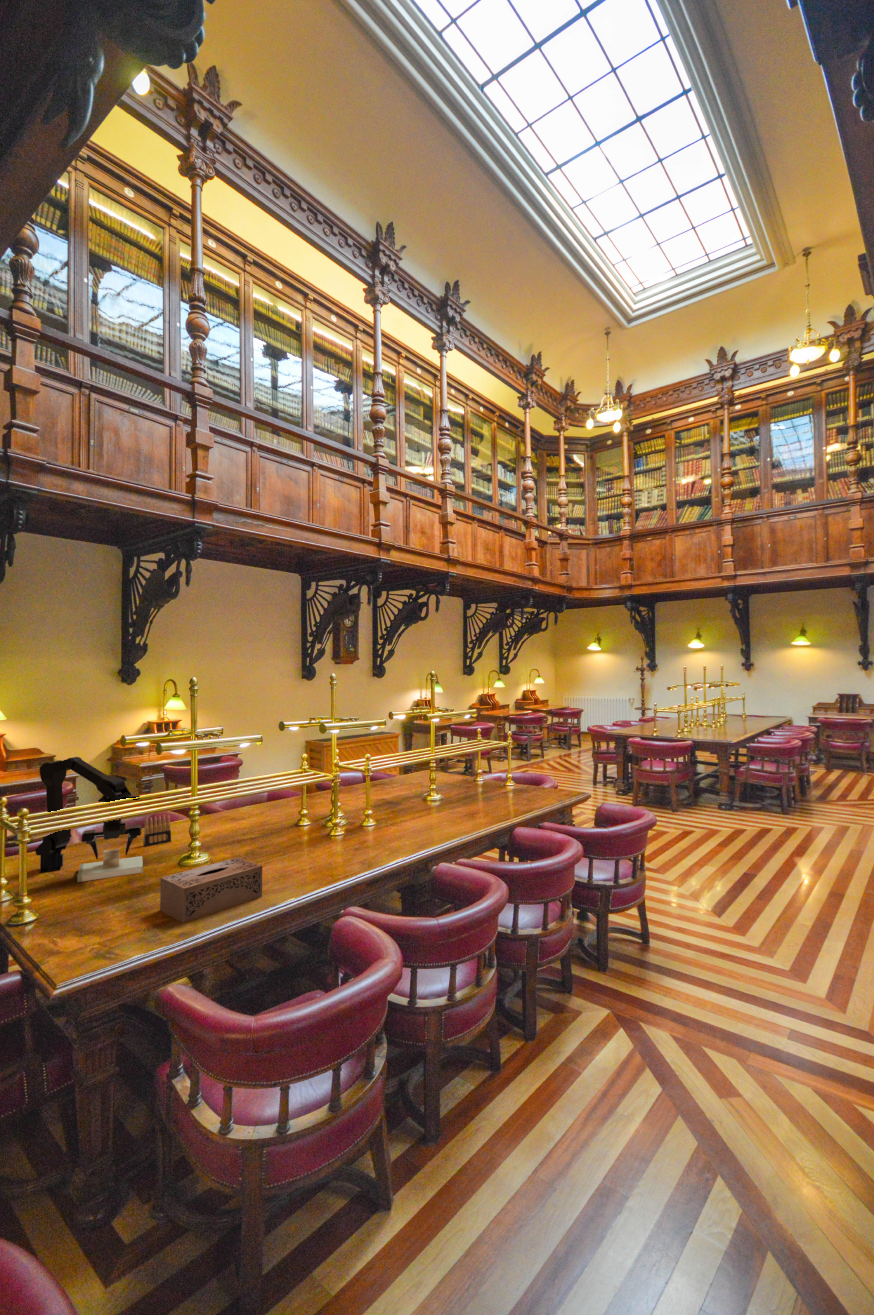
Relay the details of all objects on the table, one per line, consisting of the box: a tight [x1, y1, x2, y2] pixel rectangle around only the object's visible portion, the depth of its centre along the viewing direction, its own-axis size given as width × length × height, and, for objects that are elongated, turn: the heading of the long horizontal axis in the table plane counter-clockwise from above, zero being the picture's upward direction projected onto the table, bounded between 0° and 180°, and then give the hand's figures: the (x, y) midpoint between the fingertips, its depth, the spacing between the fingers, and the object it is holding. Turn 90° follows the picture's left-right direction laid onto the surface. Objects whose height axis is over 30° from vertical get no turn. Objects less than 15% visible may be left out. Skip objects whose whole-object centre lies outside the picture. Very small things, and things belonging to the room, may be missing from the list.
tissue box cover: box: [159, 856, 263, 924], centre depth 177 cm, size 26×14×10 cm, turn 141°
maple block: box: [102, 848, 121, 868], centre depth 207 cm, size 5×5×5 cm
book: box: [76, 855, 144, 883], centre depth 207 cm, size 20×14×3 cm
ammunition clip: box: [142, 813, 172, 847], centre depth 243 cm, size 11×2×12 cm, turn 133°
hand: (111, 857), depth 207 cm, fingers open, 9 cm apart
